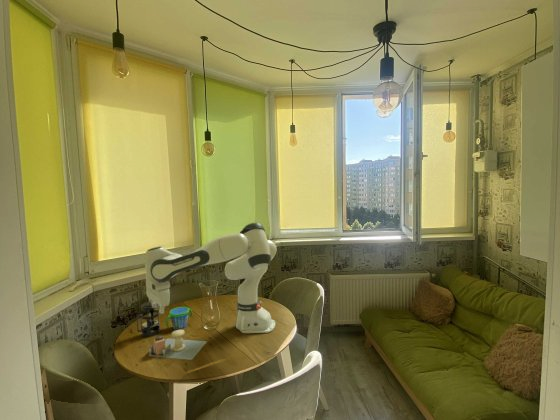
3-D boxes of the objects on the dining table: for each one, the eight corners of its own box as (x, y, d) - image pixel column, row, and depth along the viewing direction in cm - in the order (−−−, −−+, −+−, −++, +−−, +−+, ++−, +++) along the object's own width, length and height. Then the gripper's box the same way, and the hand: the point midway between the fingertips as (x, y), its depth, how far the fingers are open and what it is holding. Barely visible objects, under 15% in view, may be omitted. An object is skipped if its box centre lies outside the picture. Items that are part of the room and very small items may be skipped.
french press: (163, 329, 159) (161, 289, 158) (160, 337, 150) (158, 295, 149) (140, 332, 157) (138, 291, 155) (136, 341, 147) (133, 297, 146)
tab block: (163, 348, 137) (162, 334, 136) (165, 352, 134) (164, 337, 133) (154, 351, 134) (153, 336, 134) (156, 355, 131) (155, 340, 131)
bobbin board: (207, 343, 143) (206, 326, 143) (191, 362, 127) (191, 343, 127) (167, 340, 147) (166, 323, 147) (148, 358, 131) (147, 339, 131)
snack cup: (170, 336, 152) (169, 317, 151) (162, 329, 160) (161, 311, 159) (197, 326, 162) (196, 308, 162) (188, 320, 170) (188, 303, 170)
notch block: (170, 350, 136) (170, 344, 136) (164, 356, 131) (164, 349, 131) (155, 348, 137) (155, 342, 137) (149, 354, 132) (148, 348, 132)
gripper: (142, 278, 138) (143, 306, 139) (157, 288, 123) (159, 319, 124) (155, 275, 142) (156, 302, 143) (171, 284, 127) (173, 314, 128)
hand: (157, 310), depth 133 cm, fingers open, 8 cm apart
